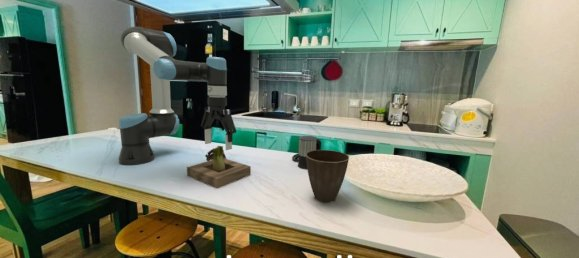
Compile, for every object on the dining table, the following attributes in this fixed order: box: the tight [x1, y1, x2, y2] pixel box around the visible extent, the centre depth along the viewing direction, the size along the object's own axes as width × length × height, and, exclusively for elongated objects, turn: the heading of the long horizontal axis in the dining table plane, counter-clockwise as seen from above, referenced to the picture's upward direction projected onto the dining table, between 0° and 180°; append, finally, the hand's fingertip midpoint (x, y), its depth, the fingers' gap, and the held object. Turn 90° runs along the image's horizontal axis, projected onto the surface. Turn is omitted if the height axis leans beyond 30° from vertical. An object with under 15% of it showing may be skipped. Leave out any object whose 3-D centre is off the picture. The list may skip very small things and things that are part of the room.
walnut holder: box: [186, 158, 252, 189], centre depth 101 cm, size 20×18×4 cm
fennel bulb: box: [212, 145, 225, 172], centre depth 100 cm, size 6×5×12 cm
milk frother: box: [291, 135, 322, 170], centre depth 118 cm, size 14×16×15 cm
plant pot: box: [306, 149, 350, 204], centre depth 82 cm, size 15×15×16 cm
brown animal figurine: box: [204, 147, 227, 162], centre depth 119 cm, size 12×10×8 cm
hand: (218, 146), depth 99 cm, fingers open, 13 cm apart
